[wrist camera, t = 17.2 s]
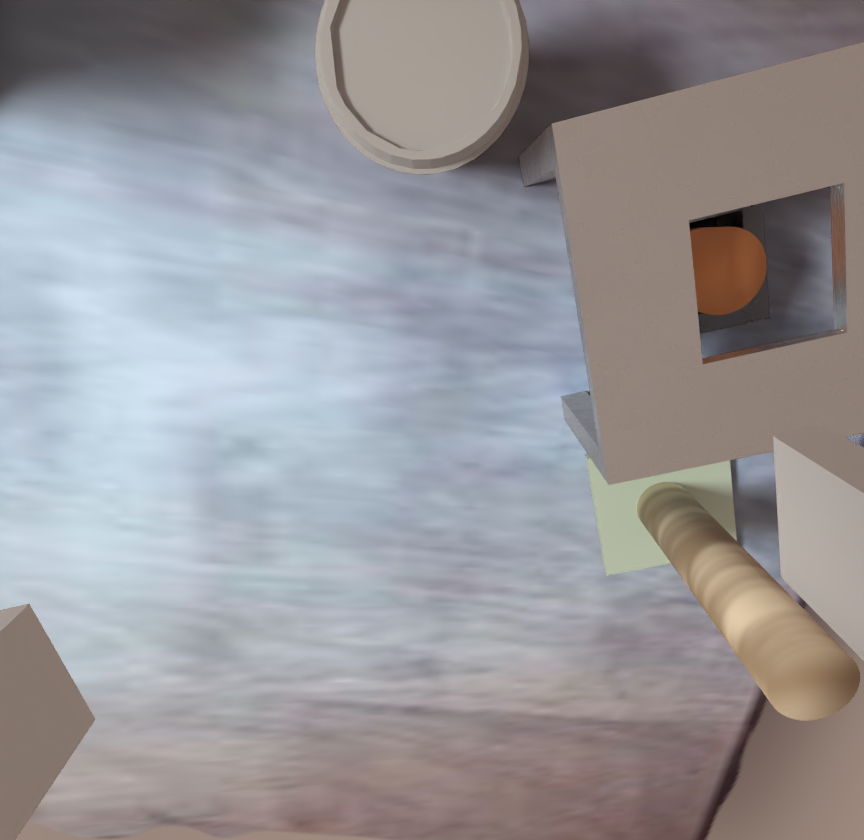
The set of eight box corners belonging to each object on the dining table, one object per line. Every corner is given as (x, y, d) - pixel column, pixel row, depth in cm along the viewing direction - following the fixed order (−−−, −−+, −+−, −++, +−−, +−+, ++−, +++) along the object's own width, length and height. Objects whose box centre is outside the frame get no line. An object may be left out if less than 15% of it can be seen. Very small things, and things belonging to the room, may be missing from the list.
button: (639, 238, 37) (674, 238, 32) (714, 219, 37) (764, 216, 31) (648, 310, 39) (683, 323, 33) (720, 294, 38) (769, 304, 33)
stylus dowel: (633, 488, 43) (765, 657, 25) (688, 476, 42) (859, 639, 25) (640, 535, 44) (771, 727, 27) (693, 524, 43) (860, 711, 26)
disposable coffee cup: (389, -11, 34) (362, -136, 23) (531, 68, 35) (574, -13, 24) (327, 148, 37) (275, 109, 25) (461, 217, 38) (470, 209, 26)
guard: (518, 157, 37) (551, 123, 26) (809, 81, 35) (976, 12, 24) (564, 420, 42) (608, 485, 31) (819, 364, 40) (960, 412, 29)
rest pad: (584, 454, 43) (587, 458, 42) (721, 425, 42) (727, 429, 41) (604, 569, 46) (606, 575, 45) (732, 544, 45) (737, 550, 44)
